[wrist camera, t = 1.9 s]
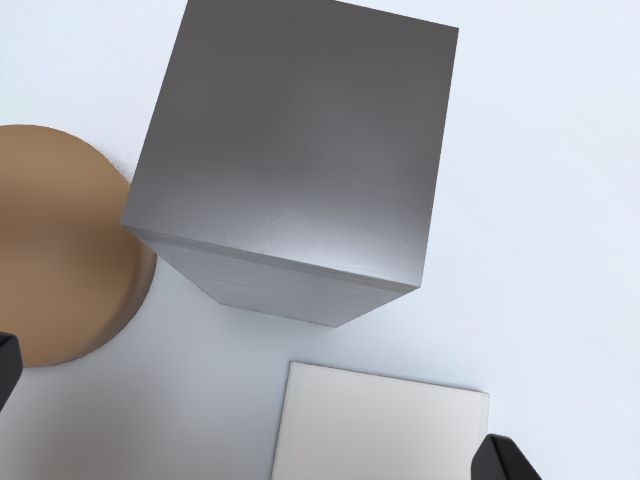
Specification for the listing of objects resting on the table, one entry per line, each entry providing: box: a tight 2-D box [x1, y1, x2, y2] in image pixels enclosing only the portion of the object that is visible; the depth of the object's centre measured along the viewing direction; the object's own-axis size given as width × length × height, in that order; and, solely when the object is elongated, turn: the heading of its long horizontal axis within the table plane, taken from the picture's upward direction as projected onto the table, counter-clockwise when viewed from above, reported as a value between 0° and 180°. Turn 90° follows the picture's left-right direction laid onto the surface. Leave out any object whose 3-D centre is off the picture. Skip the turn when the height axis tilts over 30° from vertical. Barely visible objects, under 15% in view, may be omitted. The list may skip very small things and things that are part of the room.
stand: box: [0, 125, 157, 368], centre depth 19 cm, size 9×9×3 cm
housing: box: [119, 0, 459, 327], centre depth 15 cm, size 5×5×13 cm
